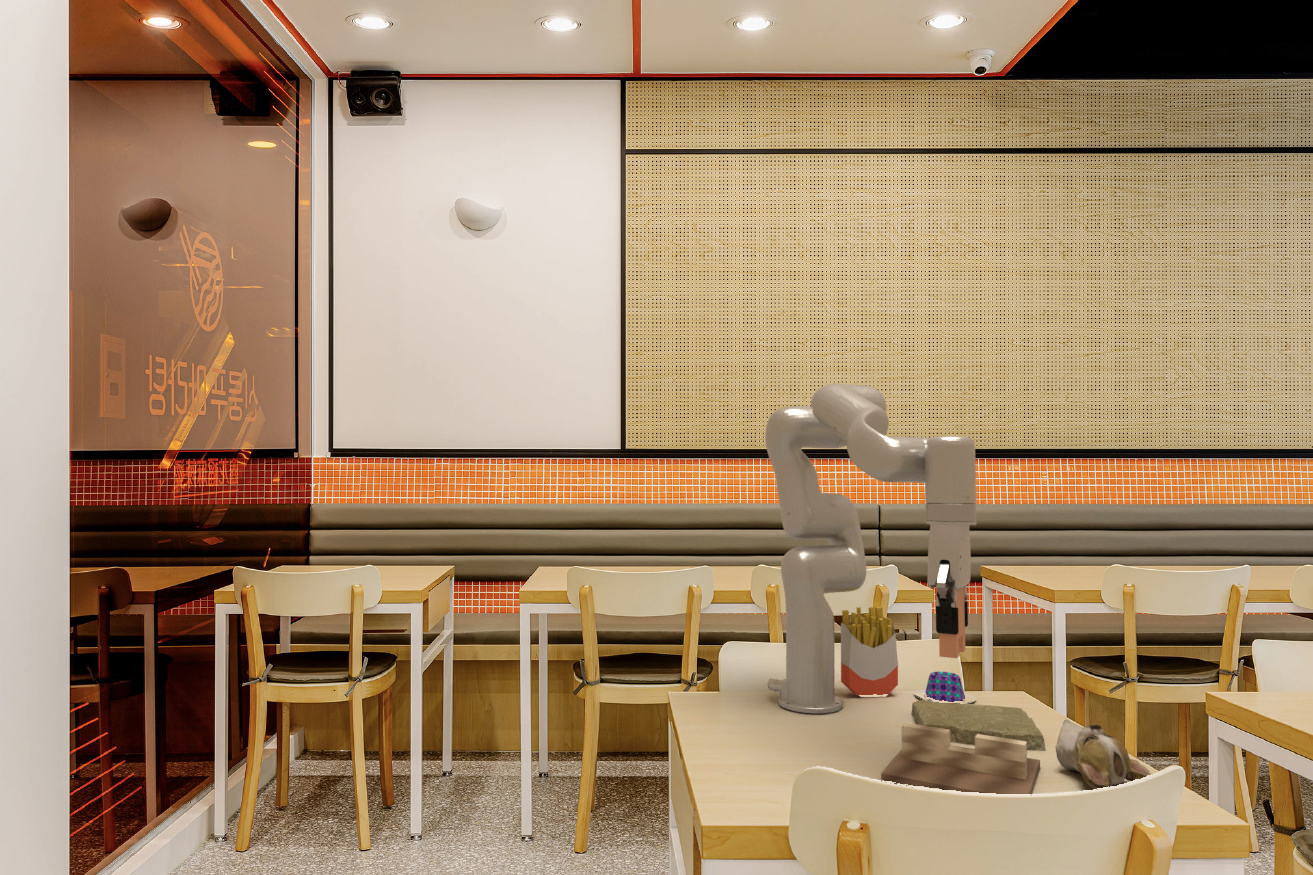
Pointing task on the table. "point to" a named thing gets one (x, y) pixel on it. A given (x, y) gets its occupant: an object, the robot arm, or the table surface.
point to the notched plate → (956, 643)
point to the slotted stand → (962, 763)
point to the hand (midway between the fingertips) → (952, 628)
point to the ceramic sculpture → (1096, 756)
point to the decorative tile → (978, 722)
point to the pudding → (944, 687)
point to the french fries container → (868, 653)
